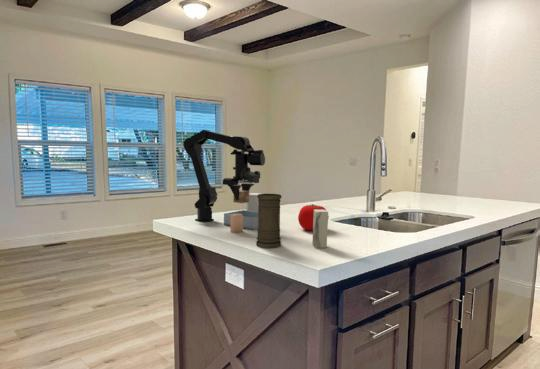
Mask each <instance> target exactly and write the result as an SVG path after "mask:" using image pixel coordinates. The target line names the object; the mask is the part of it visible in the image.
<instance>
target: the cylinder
mask: <svg viewBox="0 0 540 369" xmlns="http://www.w3.org/2000/svg"><path fill="white" fill-rule="evenodd" d="M243 231H244V228H243V214H231V226H230V233H232V234H241V233H243Z"/></svg>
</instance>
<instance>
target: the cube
mask: <svg viewBox="0 0 540 369" xmlns="http://www.w3.org/2000/svg"><path fill="white" fill-rule="evenodd" d="M249 193H250V190H249V191H244V190H242V189H239V200H236V199H235V197H234V196H233V203H239V204H245V203H246V202H249Z"/></svg>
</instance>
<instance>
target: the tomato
mask: <svg viewBox="0 0 540 369" xmlns="http://www.w3.org/2000/svg"><path fill="white" fill-rule="evenodd" d="M300 208H301V209H300V210H299V211H298V212H299V213H298V217H297V221H298V223H299V226H301V228H302V229H304V230H307V231H312V232H313V217H314V209H318V210H326V211H327V209H326V208H325V207H324V206H321V205H317V204H312V203H311V204H307V205H304V206H302V207H300ZM327 212H328V211H327ZM329 218H330V217H329V215H328V219H329Z"/></svg>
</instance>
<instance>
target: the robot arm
mask: <svg viewBox="0 0 540 369" xmlns="http://www.w3.org/2000/svg"><path fill="white" fill-rule="evenodd" d="M208 140H210V141H213V142H214V141H215V142H218V143H222V144H226V145H228V146H230V147H232V148H233V150H232V151H231V153H230V155H234V162H235V163H234V166H232V170H234V176H232V177H224V178H223V179H222V185H225V186H228V187H229V189H230V190H231V193H232V194H233V198H234V197H235V199H236V200H239V190H244V191H249V192H250V190H251V188H252V187H253V186H255V184H259V183H260V179H261V171H259V170H254V171H251V167H249V166H262V167H263V166H264V165H265V163H266V156H265V153H264V150H263V149H258V150H255V148H253V147H252V145H251V142H250V139H249V138H248V137H246V136H235V135H233V136H232V135H228V134H224V133H220V132H215V131H211V130H209V129H202V130H200V131H199V132H197V133H195V134H193V135H191V136H190V137H187V138H185V139H184V141H183V142H182V143H183V144H182V146H183V148H184V150H185V152H186V154H187V155H188V156H189V158H190V159H191V162H192V166H193V169H194V173H195V177H196V181H197V183H198V200H197V201H195V203H194V205H193V206H194V208H195V209H197V211H196V212H197V213H196V214H197V216H196V218H195V219H194V220H195V221H197V222H202V223H206V222H211V221H214V220H215V219H214V218H213V211H212V207H214V205H215V203H216V201H217V200H218V195H219V194H218V193H217V189H216V186H211V184H210V182H209V178H208V175H207V171H206V168H205V163H204V161H203V158H202V151H203V148H202V146H203V145H204V144H205V143H207V141H208Z"/></svg>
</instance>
